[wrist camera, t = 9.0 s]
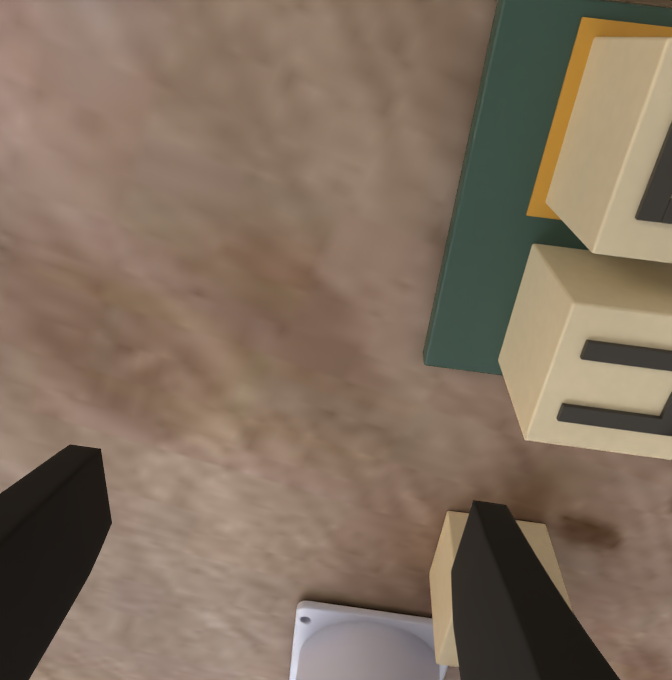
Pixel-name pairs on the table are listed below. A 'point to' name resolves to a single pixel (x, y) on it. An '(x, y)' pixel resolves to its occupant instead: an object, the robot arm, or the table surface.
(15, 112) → the table surface
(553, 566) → the block
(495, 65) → the green board
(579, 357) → the U block
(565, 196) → the block
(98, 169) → the table surface
